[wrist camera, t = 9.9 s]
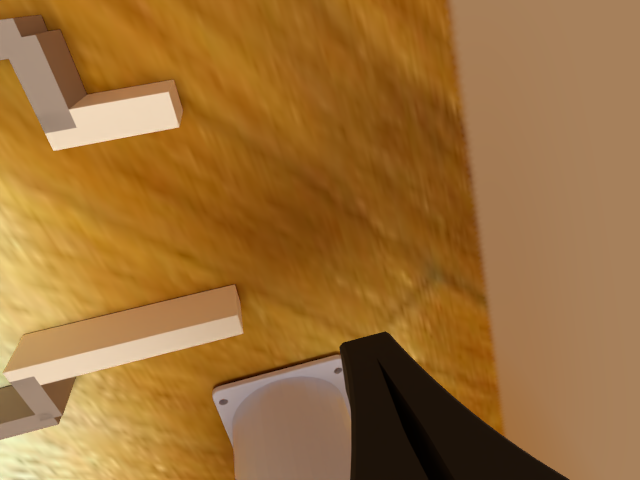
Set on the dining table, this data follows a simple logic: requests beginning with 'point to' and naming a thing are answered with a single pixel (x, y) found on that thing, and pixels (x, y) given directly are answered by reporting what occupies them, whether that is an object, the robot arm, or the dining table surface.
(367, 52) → the dining table surface
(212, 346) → the dining table surface
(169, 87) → the beige piece
